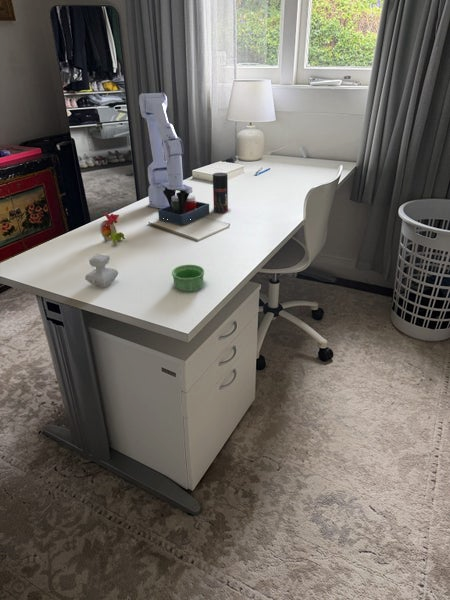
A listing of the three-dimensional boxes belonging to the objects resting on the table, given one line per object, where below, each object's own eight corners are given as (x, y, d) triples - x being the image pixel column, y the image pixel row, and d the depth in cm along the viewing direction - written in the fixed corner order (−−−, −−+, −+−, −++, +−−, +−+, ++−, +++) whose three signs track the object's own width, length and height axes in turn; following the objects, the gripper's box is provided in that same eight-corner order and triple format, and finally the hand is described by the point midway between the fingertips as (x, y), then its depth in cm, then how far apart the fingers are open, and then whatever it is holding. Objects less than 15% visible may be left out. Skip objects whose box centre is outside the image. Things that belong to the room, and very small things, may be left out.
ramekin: (167, 289, 117) (166, 275, 115) (181, 276, 124) (180, 262, 122) (196, 295, 114) (196, 280, 112) (209, 280, 122) (209, 267, 119)
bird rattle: (101, 249, 148) (118, 244, 142) (87, 220, 144) (103, 213, 139) (113, 243, 152) (130, 238, 147) (100, 214, 149) (116, 207, 144)
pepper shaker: (169, 213, 166) (168, 197, 163) (177, 210, 169) (176, 194, 166) (178, 215, 164) (177, 199, 161) (186, 212, 167) (185, 196, 164)
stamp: (103, 275, 126) (98, 249, 121) (122, 279, 123) (118, 252, 119) (83, 289, 118) (78, 261, 114) (103, 293, 116) (98, 265, 112)
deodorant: (226, 213, 174) (225, 176, 166) (212, 212, 175) (211, 175, 167) (229, 208, 179) (228, 172, 171) (215, 208, 180) (214, 172, 172)
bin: (159, 219, 168) (158, 210, 166) (186, 208, 180) (186, 199, 178) (182, 225, 162) (181, 215, 160) (209, 213, 174) (209, 203, 172)
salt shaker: (183, 213, 173) (181, 197, 169) (190, 210, 176) (189, 194, 173) (191, 215, 170) (190, 199, 167) (198, 212, 174) (198, 196, 170)
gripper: (153, 173, 160) (156, 208, 166) (182, 178, 152) (185, 214, 159) (165, 169, 165) (168, 203, 171) (195, 174, 157) (196, 209, 164)
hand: (177, 208), depth 166 cm, fingers closed on pepper shaker, 4 cm apart
